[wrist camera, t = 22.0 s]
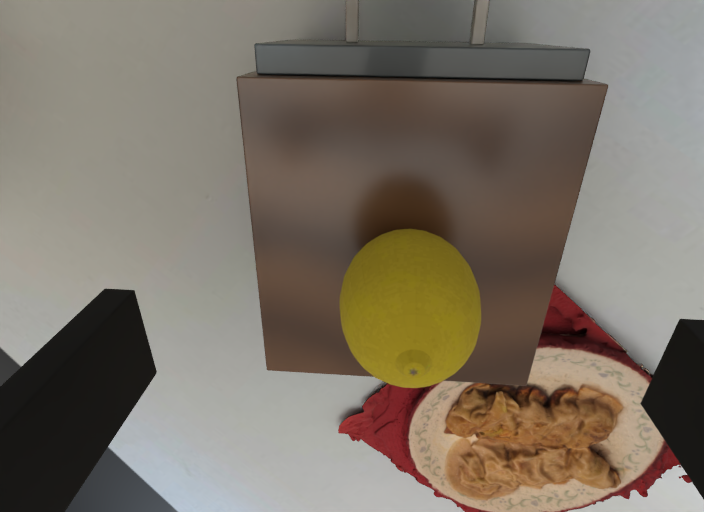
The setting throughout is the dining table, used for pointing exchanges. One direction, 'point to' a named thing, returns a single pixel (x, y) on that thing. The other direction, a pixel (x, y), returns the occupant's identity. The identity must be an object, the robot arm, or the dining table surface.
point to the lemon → (410, 308)
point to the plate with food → (528, 427)
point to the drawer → (421, 56)
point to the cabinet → (411, 199)
